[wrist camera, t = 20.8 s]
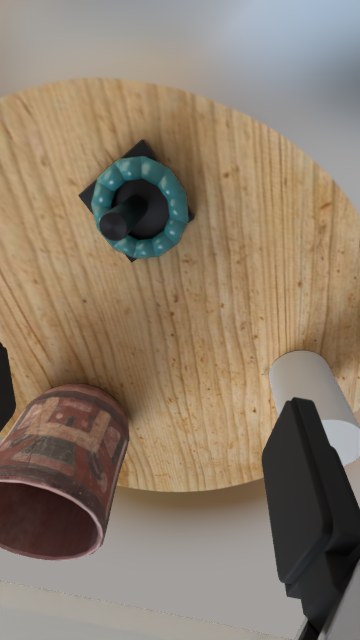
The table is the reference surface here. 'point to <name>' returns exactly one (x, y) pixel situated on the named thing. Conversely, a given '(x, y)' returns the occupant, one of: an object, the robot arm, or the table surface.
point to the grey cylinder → (317, 398)
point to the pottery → (61, 473)
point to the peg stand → (134, 206)
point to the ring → (168, 186)
